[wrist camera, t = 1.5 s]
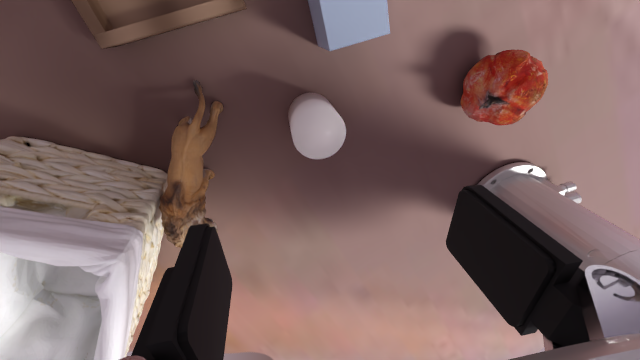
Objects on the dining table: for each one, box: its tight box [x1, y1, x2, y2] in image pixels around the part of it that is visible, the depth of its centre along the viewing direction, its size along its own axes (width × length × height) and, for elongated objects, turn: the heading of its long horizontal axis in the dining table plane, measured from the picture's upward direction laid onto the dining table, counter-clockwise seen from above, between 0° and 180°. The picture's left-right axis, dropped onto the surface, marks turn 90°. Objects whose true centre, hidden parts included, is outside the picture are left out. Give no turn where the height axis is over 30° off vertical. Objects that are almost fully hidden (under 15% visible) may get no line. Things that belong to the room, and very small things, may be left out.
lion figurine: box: [159, 80, 223, 248], centre depth 26 cm, size 15×5×9 cm, turn 171°
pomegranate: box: [461, 50, 548, 125], centre depth 28 cm, size 7×7×10 cm
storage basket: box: [0, 136, 168, 360], centre depth 26 cm, size 24×16×15 cm
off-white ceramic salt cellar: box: [288, 92, 346, 159], centre depth 27 cm, size 5×5×6 cm
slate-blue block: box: [308, 0, 390, 51], centre depth 22 cm, size 5×5×6 cm
